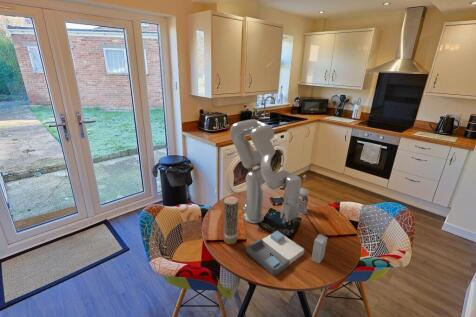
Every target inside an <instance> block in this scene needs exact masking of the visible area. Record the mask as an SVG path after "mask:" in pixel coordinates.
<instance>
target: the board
mask: <svg viewBox="0 0 476 317" xmlns="http://www.w3.org/2000/svg"><path fill="white" fill-rule="evenodd" d="M270 237H271V234H269V235H267V236H266V237H264V238H261V239H262V245H264V246H265V247H266V248H268V249H269V250H270V251H271V252H273V253H274V254H275V255H277V256H278V257H279V258H280V259H282V260H283V261H286V260H287V259H289V260H290V261H289V265H291V264H292V263H294V262H295V261H296V260H298V259H299V258H301V257H302V256H303V255H304V253H305V248H304V247H302V246H300V244H298V243H297V242H295V241H293V240H292V239H290V238H288V237H287V236H286V235H284V240H282V241H281V242H279V243H276V242H275V241H274V240H272V239H271V238H270Z"/></svg>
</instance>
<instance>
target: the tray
mask: <svg viewBox="0 0 476 317" xmlns="http://www.w3.org/2000/svg"><path fill="white" fill-rule="evenodd" d="M262 239H263V238H259V239H257V240H255V241H254V242H252V243H251V244H248V245H247V246H246V247H245V248H246V249H245V250H246V254H248V255H249V256H250V257H251V258H252V259H253V260H254V261H256V262H257V263H258V264H259V265H260V266H261V267H262V268H263V269H265V270H266V271H267V272H268V273H269V274H270V275H272V276H273V277H276V276H277V275H279V274H280V273H281V272H283V271H284V270H285V269H287V268H288V267H289V266H290V264H289V261H290V260H289V259H287V260H286V261H283V260H282V259H280V258H279V257H278V256H277V255H275V254H274V253H273V252H271V251H270V250H269V249H268V248H266V247H265V246H264V245H262ZM270 253H271V254H272V255H273V257H275V258H276V259H277V260H278V261H279V262H280V265H279V266H277V267H276V268H274V267H273V266H271V265H270V264H269V263H268V262H267V261H265V260H266V259H268V258H269V257H271V256H272V255H271V254H270ZM270 255H271V256H270Z"/></svg>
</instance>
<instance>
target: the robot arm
mask: <svg viewBox="0 0 476 317" xmlns="http://www.w3.org/2000/svg"><path fill="white" fill-rule="evenodd" d="M229 136H230V139H231V141H232V143H233V145H234V147H235V148H236V152H237V154H238V157H239V159H240V161H241V164H242V166H243V167H244V169H247V170H248V169H252V168H253V169H252V170H250V171H249V172H247V173H246V175H245V183H246V204H245V205H244V207H242V209H243V210H244V213H243V216H242V217H243V220H244V221H245V222H247V223H250V224H259V223H261V222H264V218H265V216H264V214H263V201H264V191H263V189H262V185H265V184H266V186H267V187H268V188H270V189H271V190H277V189H279V188H281V187H283V186H284V196H283V198H284V199H283V201H282V203H281V204H282V205H281V209H280V219H282V224H285V229H286V230H288V231H289V232H291V231H292V230H293V227H294V222H295V220H296V218H297V217H299V215H300V214H299V202H300V201H299V197H300V188H302V187H301V185H302V179H301V177H300V176H298V175H295V174H292V173H291V172H290V171H287V170H286V169H285V170H284V169H282V170H279V171H276V172H275V173H274V172H273V169H272V166H271V162H272V159H273V157H274V155H275V154H276V149H275V148H274V145H273V144H272V141H271V140H273V139H274V137H275V130H274V128H273V127H272V126H271V125H269V124H267V123H265V122H263V121H260V120H258V119H256V118H255V119H246V120H241V121H238V122H235V123H233V124H231V127H230V131H229ZM247 136H250V140H251V141H252V143H253V145H254V147H255V149H253V147H252V144H251V143H250V141H249V140H248V139H247V138H246V137H247ZM255 167H257V168H255ZM254 168H255V169H254Z"/></svg>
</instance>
